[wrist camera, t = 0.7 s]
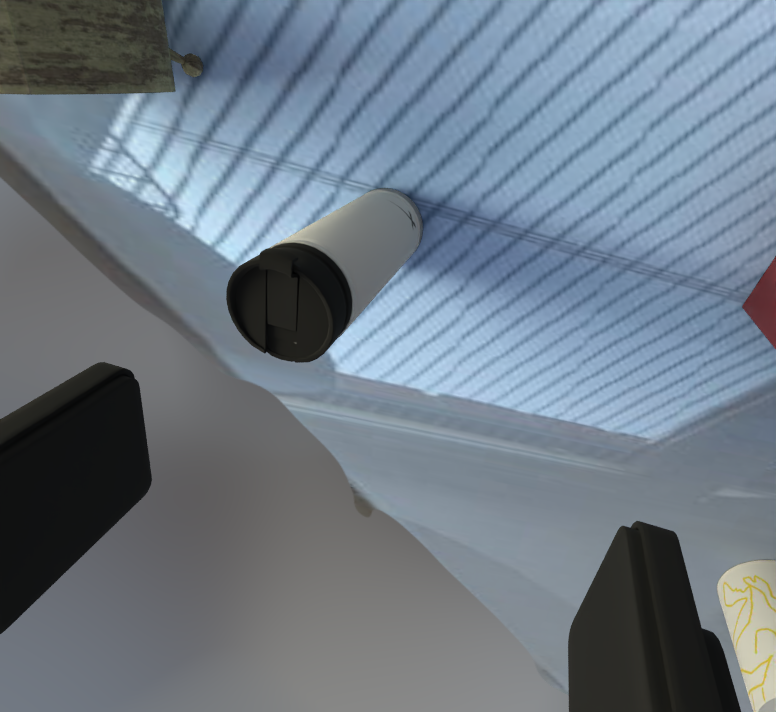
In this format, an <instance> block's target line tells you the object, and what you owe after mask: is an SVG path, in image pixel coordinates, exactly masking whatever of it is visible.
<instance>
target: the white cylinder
mask: <svg viewBox="0 0 776 712" xmlns="http://www.w3.org/2000/svg"><path fill="white" fill-rule="evenodd" d="M717 592H718V596H719V599H720V603H721V606H722V609H723V613H724V616H725V619H726V622H727V626H728V629H729V632H730V636H731V639H732V642H733V646H734V649H735V652H736V656H737V659H738V662H739V665H740V669H741V672H742V675H743V679H744V682H745V685H746V689H747V692H748V695H749V699H750V702H751V705H752V708H753V712H776V561H773V560H757V561H750V562H746V563H742V564H739V565H737V566H735V567H733V568H731V569H729V570H728V571H727V572H725V573H724V574H723V575H722V577H721V578H720V580H719V582H718V585H717Z"/></svg>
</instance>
